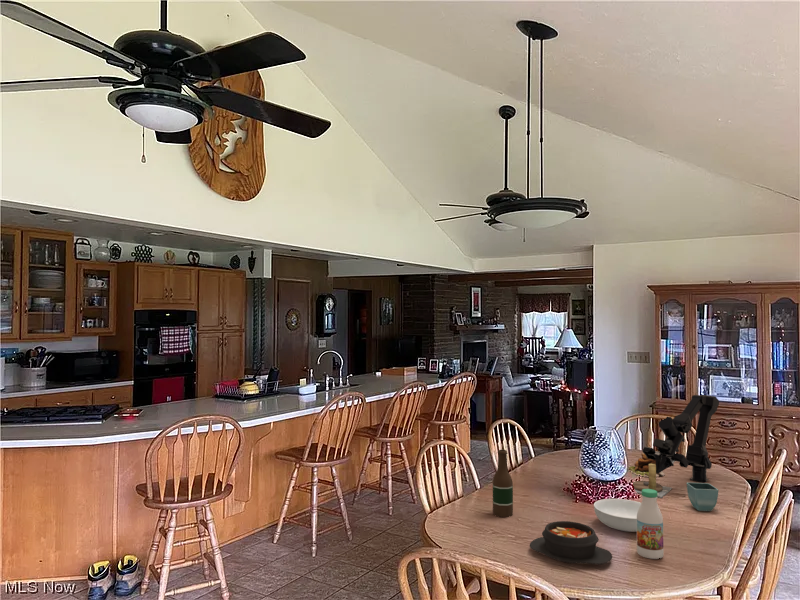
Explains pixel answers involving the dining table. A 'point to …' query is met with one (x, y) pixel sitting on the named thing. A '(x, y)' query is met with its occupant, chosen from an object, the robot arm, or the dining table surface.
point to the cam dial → (651, 483)
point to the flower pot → (702, 496)
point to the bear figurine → (643, 466)
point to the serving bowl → (618, 513)
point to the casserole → (570, 543)
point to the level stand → (659, 494)
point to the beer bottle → (502, 488)
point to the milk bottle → (649, 526)
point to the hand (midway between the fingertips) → (656, 472)
